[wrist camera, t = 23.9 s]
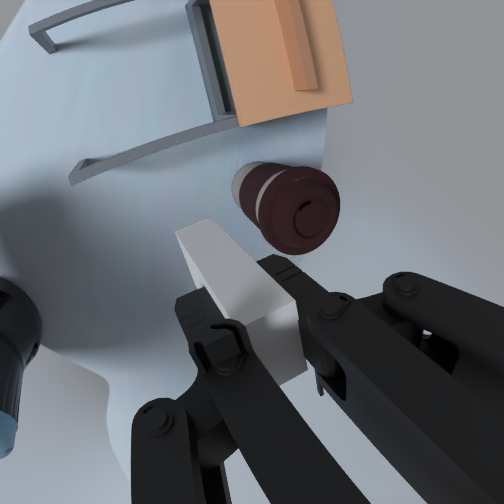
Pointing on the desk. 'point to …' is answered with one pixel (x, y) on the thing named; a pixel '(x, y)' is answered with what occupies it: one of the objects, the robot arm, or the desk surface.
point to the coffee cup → (288, 204)
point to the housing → (210, 69)
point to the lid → (281, 56)
